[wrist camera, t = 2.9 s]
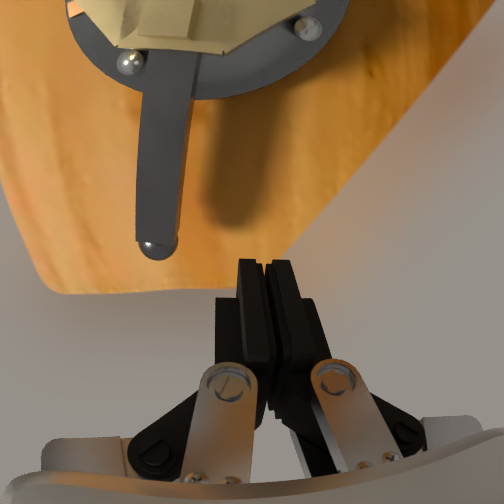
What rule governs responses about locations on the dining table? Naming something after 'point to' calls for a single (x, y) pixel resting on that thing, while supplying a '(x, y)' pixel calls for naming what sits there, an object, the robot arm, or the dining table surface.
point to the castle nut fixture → (176, 87)
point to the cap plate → (215, 67)
